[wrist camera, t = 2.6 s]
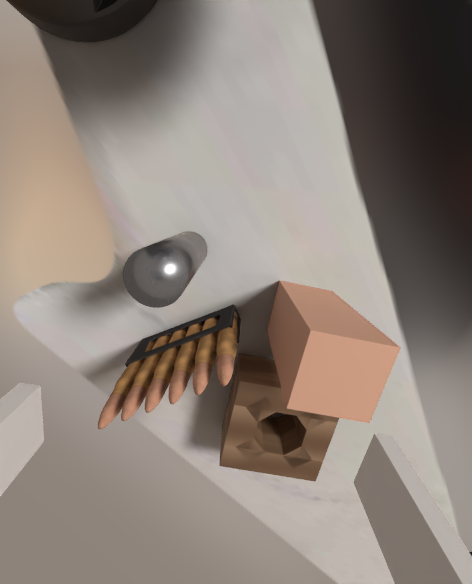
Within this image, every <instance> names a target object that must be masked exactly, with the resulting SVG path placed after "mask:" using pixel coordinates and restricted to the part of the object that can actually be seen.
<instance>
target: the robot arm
mask: <svg viewBox="0 0 472 584" xmlns="http://www.w3.org/2000/svg"><path fill="white" fill-rule="evenodd" d="M7 1H8V2H9V3H10V4H11V5H12V6H13V7H14V8H16V9H17V10H18V11H19V12H20V13H21V14H22V15H23V16H24V17H26V18H27V19H28V20H30V21H31V22H32V23H34V24H35V25H37V26H38V27H40V28H42V29H43V30H45V31H47V32H49V33H51V34H53V35H56V36H59V37H62V38H65V39H69V40H74V41H82V42H92V41H101V40H106V39H109V38H112V37H115V36H118V35H120V34H122V33H124V32H125V31H127V30H129V29H130V28H132V27H133V26H134V25H136V24H137V23H138V22H139V21H140V20H141V19H142V18H143V17H144V16H145V15H146V14H147V13H148V12H149V11H150V9H151V8H152V7H153V5H154V4H155V3H156V1H157V0H7ZM43 442H44V431H43V417H42V402H41V386H39V385H32V384H25V383H19V384H18V385H17V386H15V387H14V388H13V389H12V390H10V391H9V392H8V393H7V394H6V395H5V396H3V397H2V398H1V399H0V496H1V495H2V494H3V492H4V491H5V490H6V489H7V487H8V486H9V485H10V484H11V482H12V481H13V480H14V479H15V477H16V476H17V475H18V474H19V472H20V471H21V470H22V469H23V467H24V466H25V465H26V463H27V462H28V461H29V459H30V458H31V457H32V456H33V455H34V453H35V452H36V451H37V450H38V448H39V447H40V446H41V445H42V443H43ZM354 484H355V487H356V489H357V492H358V494H359V497H360V499H361V502H362V504H363V506H364V509H365V511H366V514H367V516H368V519H369V521H370V524H371V526H372V528H373V531H374V533H375V536H376V538H377V541H378V543H379V546H380V548H381V550H382V553H383V555H384V558H385V560H386V563H387V565H388V568H389V570H390V572H391V575H392V577H393V580H394V582H395V584H472V552H469V551H468V550H467V548H466V547H465V545H464V544H463V542H462V541H461V539H460V538H459V536H458V534H457V533H456V531H455V530H454V528H453V527H452V525H451V524H450V522H449V521H448V519H447V518H446V516H445V515H444V513H443V512H442V510H441V509H440V507H439V505H438V504H437V502H436V501H435V499H434V498H433V496H432V495H431V493H430V492H429V490H428V489H427V487H426V486H425V484H424V483H423V481H422V480H421V478H420V476H419V475H418V473H417V472H416V470H415V469H414V467H413V466H412V464H411V463H410V461H409V460H408V458H407V457H406V455H405V454H404V452H403V451H402V449H401V447H400V446H399V444H398V443H397V441H396V440H395V438H394V437H393V436H391V435H384V434H377V433H374V436H373V438H372V440H371V443H370V445H369V447H368V450H367V452H366V454H365V457H364V459H363V461H362V464H361V466H360V468H359V471H358V473H357V475H356V478H355V480H354Z"/></svg>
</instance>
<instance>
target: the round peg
mask: <svg viewBox="0 0 472 584" xmlns="http://www.w3.org/2000/svg"><path fill="white" fill-rule="evenodd" d="M206 256H207V244H206V242H205V240H204V239H203V237H202V236H200V235H199V234H197V233H195V232H190V231H188V232H183V233H181V234H178V235H175V236H173V237H170V238H168V239H165V240H163V241H160V242H157V243H155V244H152V245H150V246H147V247H145V248H142V249H140V250H138V251H136V252H134V253H133V254H132V255H131V256H130V257H129V258H128V260H127V262H126V264H125V266H124V271H123V279H124V283H125V286H126V288H127V290H128V292H129V293H130V295H131V296H132V297H133V298H134V299H135V300H137V301H138V302H139V303H141V304H143V305H146V306H149V307H164V306H168V305H170V304H172V303H174V302H175V301H176V300H177V299H178V298H179V297H180V296H181V294H182V293H183V291H184V290H185V288H186V287H187V285H188V284H189V282H190V281H191V279H192V278H193V276H194V275H195V273H196V272H197V270H198V269H199V267H200V266H201V264H202V263H203V261H204V260H205V258H206Z"/></svg>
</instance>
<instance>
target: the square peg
mask: <svg viewBox="0 0 472 584" xmlns="http://www.w3.org/2000/svg"><path fill="white" fill-rule="evenodd" d="M267 333H268V337H269V341H270V345H271V349H272V353H273V357H274V361H275V365H276V368H277V372H278V376H279V380H280V384H281V388H282V392H283V396H284V400H285V404H286V407H287V409H293V410H298V411H304V412H310V413H315V414H321V415H326V416H332V417H338V418H343V419H349V420H355V421H360V422H366V423H370V420H371V418H372V415H373V413H374V411H375V408H376V406H377V403H378V401H379V399H380V396H381V394H382V391H383V389H384V386H385V384H386V382H387V379H388V377H389V374H390V372H391V370H392V367H393V365H394V362H395V360H396V358H397V355H398V353H399V350H400V347H399V346H398V345H397V344H395V343H394V342H393V341H392V340H391V339H389V338H388V337H387V336H386V335H385V334H383V333H382V332H381V331H380V330H379V329H377V328H376V327H375V326H374V325H373V324H371V323H370V322H369V321H368V320H367V319H365V318H364V317H363V316H362V315H360V314H359V313H358V312H357V311H356V310H354V309H353V308H352V307H351V306H350V305H348V304H347V303H346V302H345V301H344V300H342V299H341V298H340V297H339V296H338V295H336V294H335V293H334V292H333V291H329V290H324V289H319V288H314V287H309V286H304V285H299V284H294V283H289V282H284V281H279V285H278V289H277V292H276V296H275V300H274V304H273V308H272V312H271V316H270V320H269V323H268V327H267Z"/></svg>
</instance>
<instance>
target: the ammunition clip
mask: <svg viewBox="0 0 472 584" xmlns="http://www.w3.org/2000/svg"><path fill="white" fill-rule="evenodd" d="M240 322H241V319H240V317H239V314H238V312H237V310H236V307H235V305H231V306H229V307H226V308H224V309H221V310H218V311H216V312H213V313H210V314H208V315H205V316H202V317H200V318H197V319H195V320H192V321H189V322H187V323H184V324H181V325H179V326H176V327H174V328H171V329H168V330H166V331H163V332H160V333H158V334H155V335H152V336H150V337H147V338H145V339H143V340H142V341H141V342H140V344H139V345H138V346H137V348H136V349H135V351H134V352H133V354H132V355H131V356H130V358H129V359H128V361H127V362H126V364H125V365H126V367H127V368H126V370H125V371H124V373H123V374H122V375H121V377H120V378H119V380H118V381H117V383H116V385H115V388H114V390H113V392H112V394H111V395H110V398H109V399H108V401H107V402H106V404H105V406H104V408H103V410H102V412H101V415H100V418H99V422H98V428H99V429H102V428H104V427H105V426H107V425H108V424H109V423H110V422H111V421H112V420H113V419H114V418H115V417H116V416H117V414H118V413H119V412H120V410H121V409H122V414H121V419H122V421H125V420H127V419H129V418H130V417H131V416H132V415H133V414H134V413H135V412H136V411H137V409H138V408H139V406H140V405H141V403H142V402H143V400H144V398H145V397H146V400H145V411H146V412H147V413H149V412H150V411H152V410H153V409H154V408H155V407H156V406H157V405H158V403H159V402H160V401H161V399H162V397H163V395H164V393H165V391H166V389H167V387H168V385H169V383H170V386H169V401H170V403H171V404H174V403H176V402H177V401H178V400H179V398H180V397H181V396H182V394H183V392H184V390H185V388H186V386H187V383H188V380H189V378H190V376H191V374H192V372H193V371H194V375H193V388H194V391H195V394H196V395H200V394H201V393H202V392H203V391H204V389H205V388H206V386H207V384H208V381H209V378H210V374H211V371H212V367H213V365H214V363H215V360H216V354H217V374H218V378H219V381H220V383H221V384H222V386H226V385H227V384H228V383H229V381H230V379H231V377H232V374H233V369H234V361H235V356H236V354H237V343H239V334H240ZM194 369H195V370H194ZM122 407H123V408H122Z"/></svg>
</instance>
